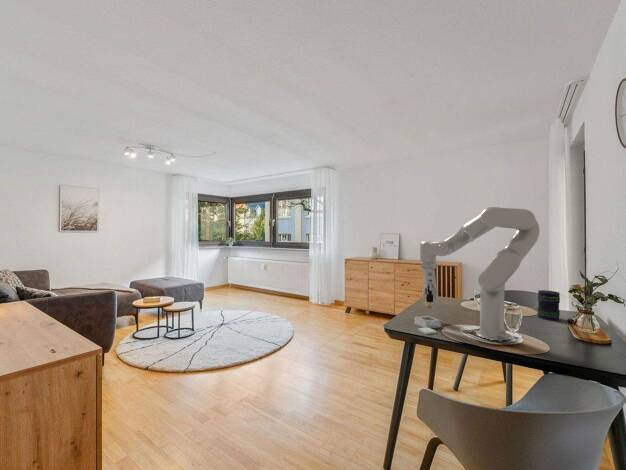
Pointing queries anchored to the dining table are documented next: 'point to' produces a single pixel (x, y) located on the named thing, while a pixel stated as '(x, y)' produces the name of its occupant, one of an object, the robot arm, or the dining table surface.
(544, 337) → the dining table surface
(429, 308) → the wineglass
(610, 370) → the dining table surface
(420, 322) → the chuck block
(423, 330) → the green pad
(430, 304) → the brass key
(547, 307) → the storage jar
